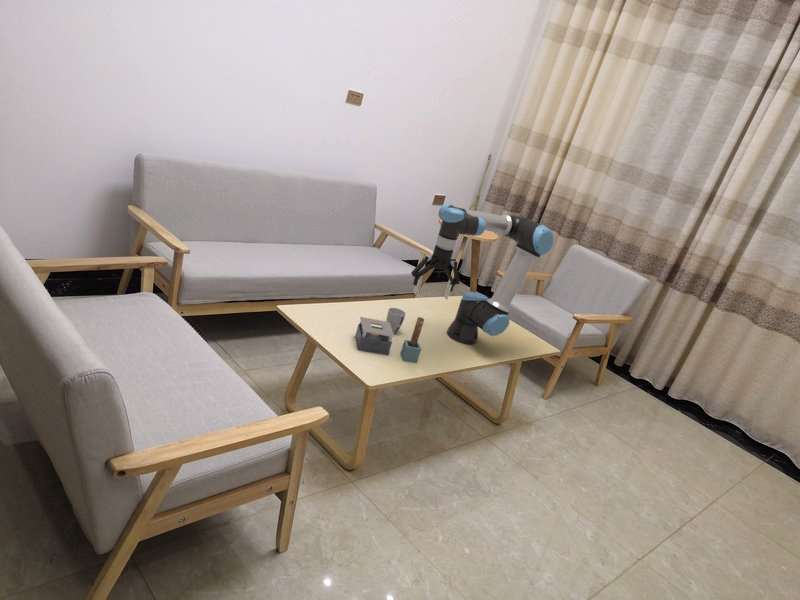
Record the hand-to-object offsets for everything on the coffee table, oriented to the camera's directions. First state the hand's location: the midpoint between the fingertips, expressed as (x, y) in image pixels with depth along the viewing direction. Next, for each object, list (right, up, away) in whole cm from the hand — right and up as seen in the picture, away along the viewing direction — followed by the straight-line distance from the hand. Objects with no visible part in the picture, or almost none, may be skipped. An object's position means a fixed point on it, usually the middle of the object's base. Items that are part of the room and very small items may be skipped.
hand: (430, 295), depth 222 cm
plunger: (-24, -19, +6) cm, 31 cm away
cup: (-16, -16, +26) cm, 35 cm away
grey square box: (-24, -21, +7) cm, 33 cm away
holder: (-9, -26, +5) cm, 28 cm away
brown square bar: (-9, -26, +5) cm, 28 cm away
